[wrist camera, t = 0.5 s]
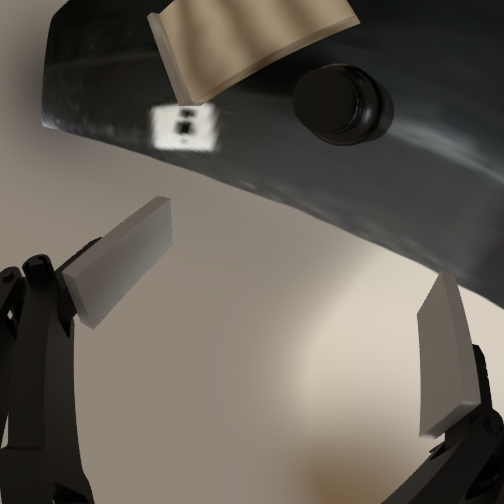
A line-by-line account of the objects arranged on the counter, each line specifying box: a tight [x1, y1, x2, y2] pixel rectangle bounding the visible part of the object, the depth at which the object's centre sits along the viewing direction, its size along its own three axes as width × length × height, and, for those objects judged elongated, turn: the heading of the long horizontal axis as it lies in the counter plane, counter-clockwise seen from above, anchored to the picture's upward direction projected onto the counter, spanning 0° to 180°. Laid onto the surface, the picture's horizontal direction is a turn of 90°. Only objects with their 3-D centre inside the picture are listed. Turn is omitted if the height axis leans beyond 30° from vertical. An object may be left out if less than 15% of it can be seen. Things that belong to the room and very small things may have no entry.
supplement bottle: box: [292, 63, 394, 146], centre depth 22 cm, size 7×7×12 cm
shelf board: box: [147, 0, 360, 106], centre depth 27 cm, size 23×16×4 cm
